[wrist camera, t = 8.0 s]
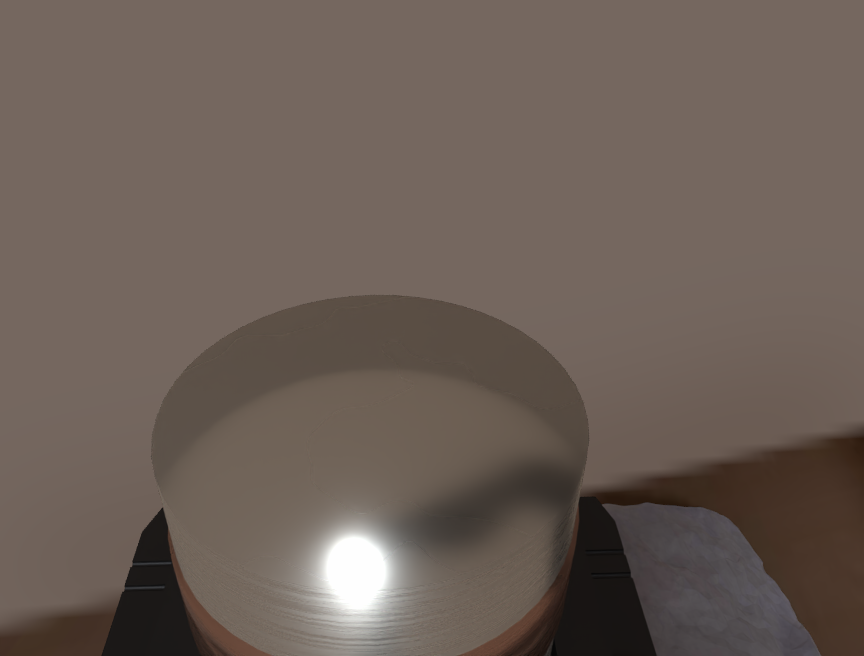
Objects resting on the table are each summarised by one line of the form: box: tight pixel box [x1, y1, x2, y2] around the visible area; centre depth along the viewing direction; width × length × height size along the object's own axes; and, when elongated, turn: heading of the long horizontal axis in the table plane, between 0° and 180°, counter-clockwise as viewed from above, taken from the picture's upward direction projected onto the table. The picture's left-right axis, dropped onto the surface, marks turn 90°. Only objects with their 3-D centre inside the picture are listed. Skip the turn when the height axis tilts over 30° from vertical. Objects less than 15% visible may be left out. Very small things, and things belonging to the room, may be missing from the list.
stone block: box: [602, 502, 821, 656], centre depth 30 cm, size 12×5×10 cm
